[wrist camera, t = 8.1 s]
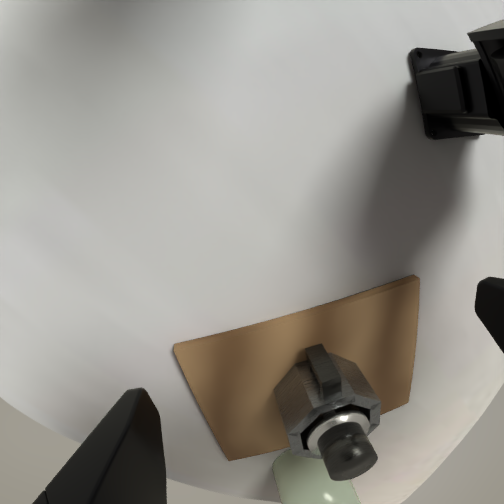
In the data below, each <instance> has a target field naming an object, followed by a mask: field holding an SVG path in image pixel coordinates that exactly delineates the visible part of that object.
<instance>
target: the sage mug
mask: <svg viewBox="0 0 504 504" xmlns="http://www.w3.org/2000/svg"><path fill="white" fill-rule="evenodd" d="M272 468H273V472H274V476H275V480H276V484H277V488H278V492H279V495H280V499H281V503H282V504H361V502H360V500H359V498H358V496H357V493H356V491H355V489H354V487H353V484H352V482H351V480H350V479H349V480H345V481H334V480H332V479H330V477H329V474H328V471H327V469H326V466H325V464H324V461H323V459H315V458H308V457H302V456H296V455H293V454H292V451H291V449H289V450H287V451H286V452H284V453H283V454H281V455H280V456H279V457H278V458H277V459H276V460H275V461H274V463H273V466H272Z"/></svg>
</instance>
